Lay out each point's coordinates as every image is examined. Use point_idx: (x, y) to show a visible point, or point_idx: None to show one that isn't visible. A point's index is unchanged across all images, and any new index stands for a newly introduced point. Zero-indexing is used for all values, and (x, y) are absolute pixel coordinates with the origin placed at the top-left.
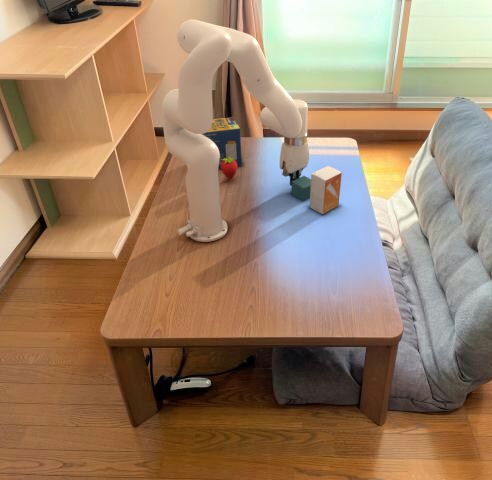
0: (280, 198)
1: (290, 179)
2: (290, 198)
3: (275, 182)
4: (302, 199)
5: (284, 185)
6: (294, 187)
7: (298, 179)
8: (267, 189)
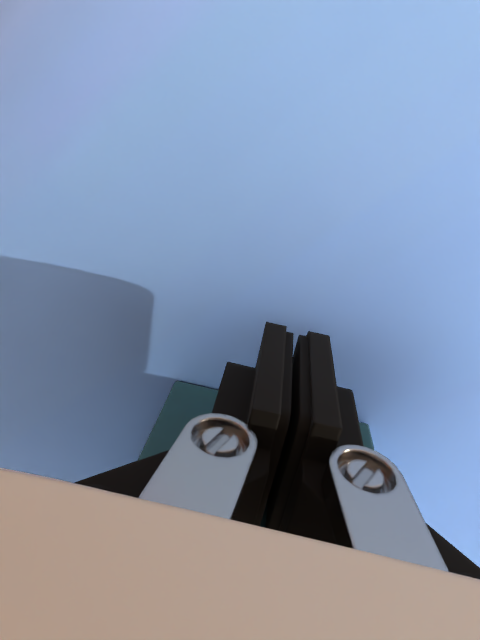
0: (26, 334)
1: (214, 412)
2: (102, 413)
3: (277, 28)
4: None
5: (284, 205)
6: None
7: None
8: (44, 65)
